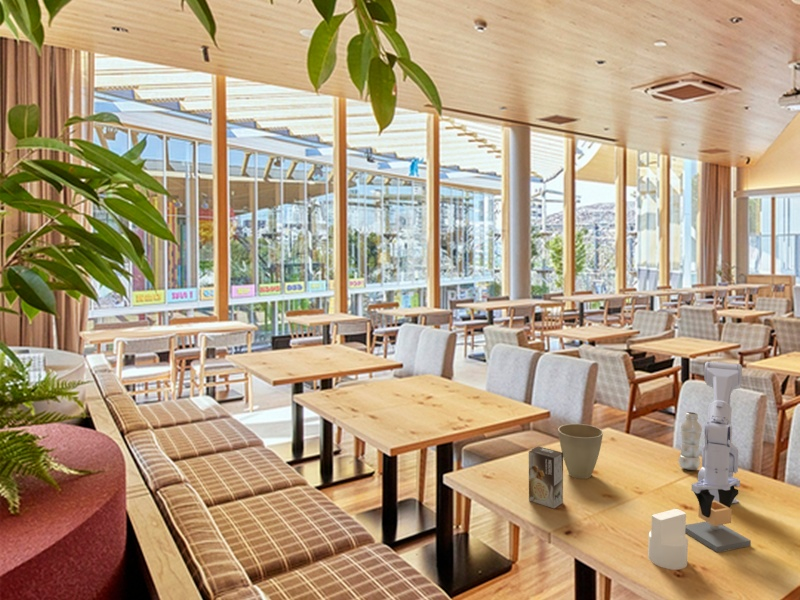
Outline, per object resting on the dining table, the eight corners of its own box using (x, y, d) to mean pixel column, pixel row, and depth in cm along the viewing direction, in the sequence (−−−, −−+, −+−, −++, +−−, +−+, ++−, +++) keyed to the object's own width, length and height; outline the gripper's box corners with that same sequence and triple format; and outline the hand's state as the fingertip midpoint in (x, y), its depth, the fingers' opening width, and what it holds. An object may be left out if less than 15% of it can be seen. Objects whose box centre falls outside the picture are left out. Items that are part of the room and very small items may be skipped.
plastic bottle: (676, 465, 207) (679, 410, 207) (697, 467, 206) (700, 412, 205) (679, 470, 201) (683, 414, 201) (701, 473, 199) (704, 416, 199)
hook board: (682, 530, 160) (682, 510, 160) (714, 524, 163) (714, 505, 163) (716, 552, 149) (717, 531, 148) (750, 545, 152) (751, 524, 151)
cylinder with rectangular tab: (669, 573, 140) (670, 525, 139) (640, 555, 148) (641, 510, 147) (695, 564, 144) (697, 518, 143) (665, 547, 152) (667, 503, 151)
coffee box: (564, 502, 179) (564, 452, 178) (554, 509, 175) (554, 458, 173) (537, 494, 185) (538, 445, 184) (527, 500, 181) (527, 451, 179)
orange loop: (698, 516, 160) (698, 502, 160) (714, 513, 162) (715, 500, 161) (714, 526, 155) (715, 511, 154) (731, 523, 156) (731, 508, 156)
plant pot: (556, 465, 209) (556, 422, 208) (599, 468, 206) (599, 424, 205) (558, 481, 195) (559, 436, 193) (605, 485, 192) (606, 438, 190)
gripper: (706, 475, 151) (704, 524, 152) (750, 468, 155) (748, 516, 156) (686, 465, 158) (684, 513, 159) (728, 459, 162) (726, 505, 163)
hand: (714, 514), depth 158 cm, fingers closed on orange loop, 6 cm apart
